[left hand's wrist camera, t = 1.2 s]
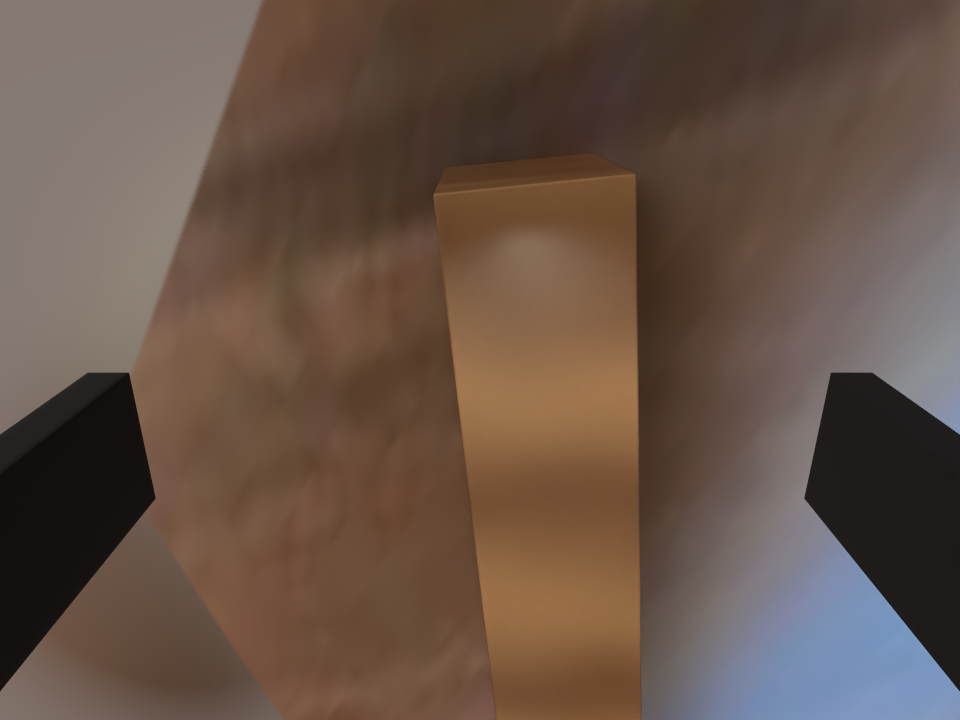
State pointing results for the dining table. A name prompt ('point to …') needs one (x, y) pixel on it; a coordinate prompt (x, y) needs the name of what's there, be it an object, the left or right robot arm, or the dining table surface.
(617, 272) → the beam
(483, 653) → the dining table surface
